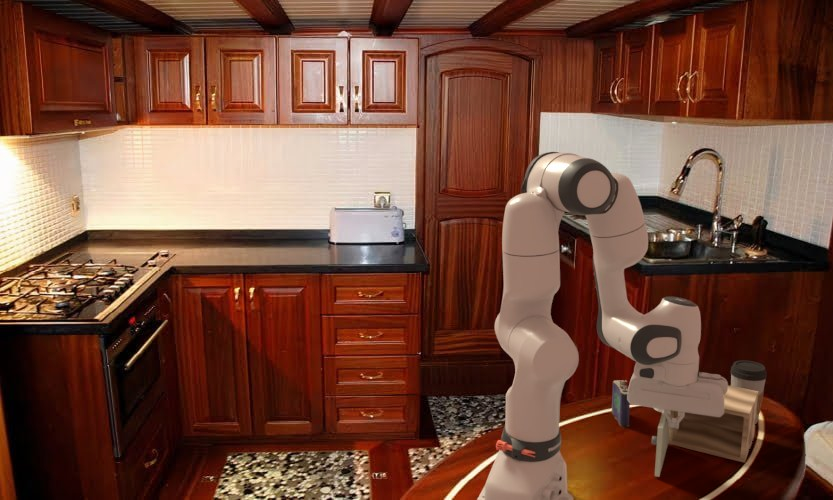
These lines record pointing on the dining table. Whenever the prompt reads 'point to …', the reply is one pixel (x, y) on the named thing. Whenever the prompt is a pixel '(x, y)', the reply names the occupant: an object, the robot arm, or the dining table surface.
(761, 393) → the coffee cup
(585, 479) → the dining table surface
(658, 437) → the side door
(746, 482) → the dining table surface
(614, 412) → the flask
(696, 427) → the oak cabinet
